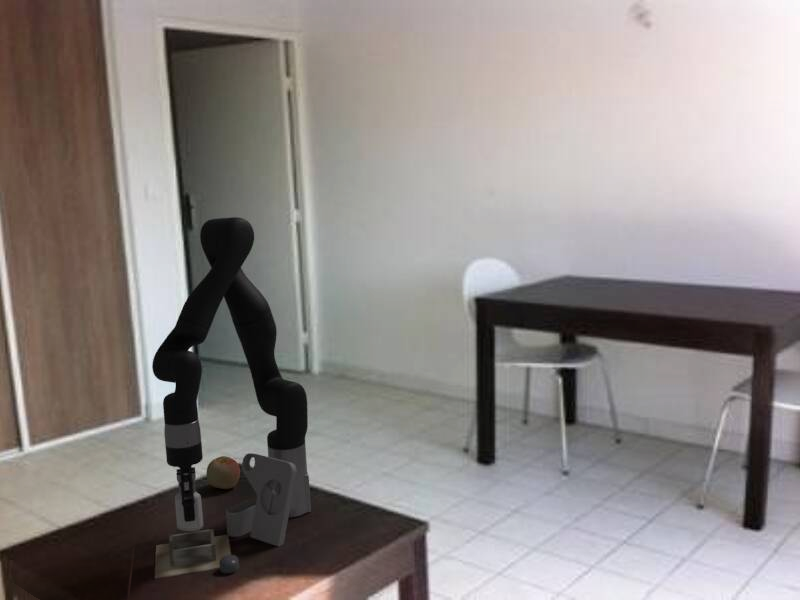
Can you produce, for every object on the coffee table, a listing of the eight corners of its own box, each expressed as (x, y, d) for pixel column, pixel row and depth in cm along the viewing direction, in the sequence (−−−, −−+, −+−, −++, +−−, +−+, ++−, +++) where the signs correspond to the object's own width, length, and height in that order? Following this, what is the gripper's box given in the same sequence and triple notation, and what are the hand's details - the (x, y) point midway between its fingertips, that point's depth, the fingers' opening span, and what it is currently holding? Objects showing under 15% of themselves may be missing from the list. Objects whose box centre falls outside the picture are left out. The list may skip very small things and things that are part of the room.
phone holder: (222, 536, 194) (216, 462, 191) (254, 521, 202) (249, 450, 199) (274, 554, 184) (269, 477, 181) (306, 537, 192) (301, 462, 189)
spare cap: (238, 560, 179) (238, 553, 178) (240, 574, 175) (239, 567, 174) (219, 563, 178) (218, 556, 177) (220, 577, 174) (220, 570, 173)
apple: (225, 479, 231) (222, 451, 229) (248, 485, 225) (245, 457, 224) (201, 490, 224) (198, 461, 222) (223, 496, 218) (221, 467, 217)
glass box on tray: (228, 538, 193) (226, 520, 192) (232, 569, 177) (231, 549, 177) (156, 549, 189) (154, 530, 188) (154, 582, 173) (153, 561, 173)
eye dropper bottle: (188, 535, 178) (183, 481, 177) (174, 527, 182) (170, 475, 181) (206, 528, 182) (201, 475, 180) (192, 521, 185) (187, 469, 184)
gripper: (202, 448, 173) (208, 526, 176) (200, 429, 187) (206, 501, 189) (164, 453, 171) (171, 532, 174) (165, 433, 185) (172, 506, 187)
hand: (189, 515), depth 182 cm, fingers closed on eye dropper bottle, 4 cm apart
